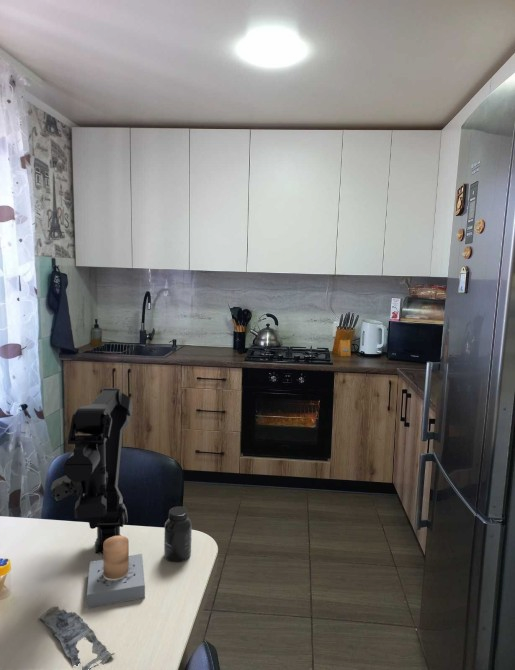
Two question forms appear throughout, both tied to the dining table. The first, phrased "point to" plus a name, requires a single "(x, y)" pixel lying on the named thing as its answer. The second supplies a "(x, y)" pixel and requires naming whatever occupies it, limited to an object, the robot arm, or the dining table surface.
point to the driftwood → (74, 635)
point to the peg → (116, 558)
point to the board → (115, 584)
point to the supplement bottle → (177, 535)
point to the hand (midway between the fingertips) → (93, 527)
